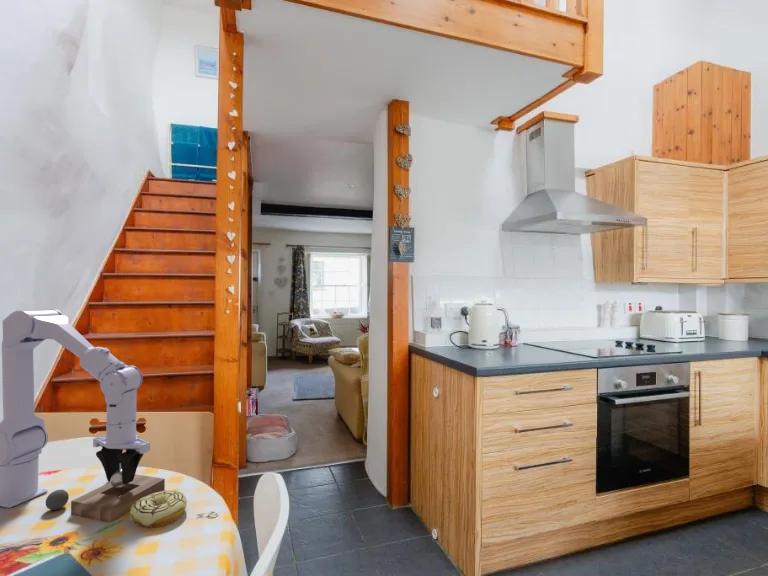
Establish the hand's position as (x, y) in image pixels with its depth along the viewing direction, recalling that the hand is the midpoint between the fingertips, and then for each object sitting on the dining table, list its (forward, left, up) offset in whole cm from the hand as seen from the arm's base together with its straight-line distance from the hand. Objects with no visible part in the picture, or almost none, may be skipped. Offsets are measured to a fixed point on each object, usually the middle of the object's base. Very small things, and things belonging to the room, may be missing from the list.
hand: (120, 480), depth 91 cm
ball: (-11, -6, -3) cm, 13 cm away
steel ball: (0, 0, +1) cm, 1 cm away
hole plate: (0, 0, -5) cm, 5 cm away
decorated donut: (+13, -2, -5) cm, 14 cm away
